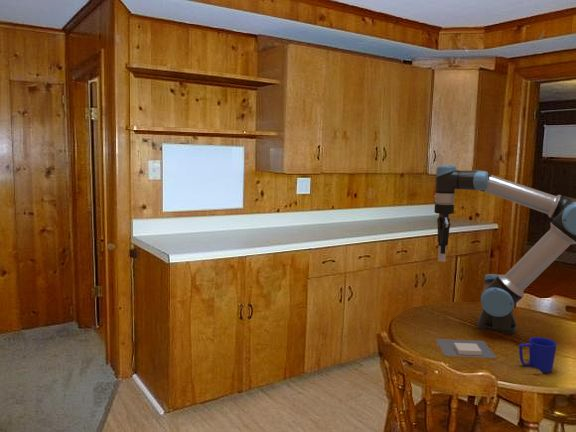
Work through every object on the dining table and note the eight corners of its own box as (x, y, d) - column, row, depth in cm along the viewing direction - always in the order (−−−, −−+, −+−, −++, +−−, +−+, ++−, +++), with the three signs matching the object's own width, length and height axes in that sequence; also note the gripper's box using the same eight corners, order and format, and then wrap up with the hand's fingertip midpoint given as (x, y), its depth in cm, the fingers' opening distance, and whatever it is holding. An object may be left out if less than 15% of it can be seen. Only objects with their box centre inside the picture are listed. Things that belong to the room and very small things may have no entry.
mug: (511, 365, 168) (513, 337, 167) (544, 364, 169) (546, 336, 168) (525, 375, 160) (527, 346, 159) (559, 374, 161) (562, 345, 160)
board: (483, 344, 186) (483, 340, 186) (496, 361, 170) (497, 357, 170) (435, 342, 188) (435, 338, 188) (444, 359, 172) (444, 355, 172)
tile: (476, 343, 178) (481, 351, 172) (475, 348, 179) (481, 355, 172) (453, 342, 179) (458, 350, 172) (453, 347, 179) (458, 354, 172)
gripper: (431, 201, 202) (429, 257, 204) (438, 205, 189) (435, 264, 192) (450, 202, 201) (447, 257, 204) (458, 205, 188) (455, 264, 191)
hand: (441, 260), depth 198 cm, fingers closed
